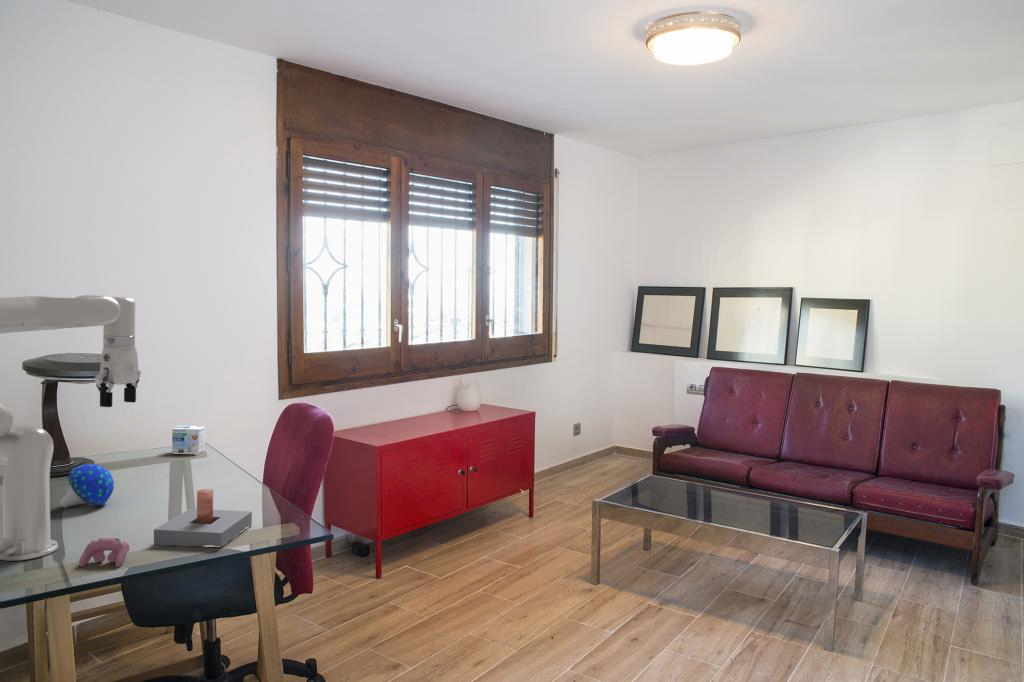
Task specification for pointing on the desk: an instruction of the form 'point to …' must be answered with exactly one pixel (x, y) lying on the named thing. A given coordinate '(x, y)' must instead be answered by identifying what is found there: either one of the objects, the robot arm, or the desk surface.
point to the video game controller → (101, 545)
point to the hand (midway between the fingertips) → (118, 404)
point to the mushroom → (88, 486)
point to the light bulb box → (188, 439)
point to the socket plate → (202, 528)
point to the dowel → (205, 506)
